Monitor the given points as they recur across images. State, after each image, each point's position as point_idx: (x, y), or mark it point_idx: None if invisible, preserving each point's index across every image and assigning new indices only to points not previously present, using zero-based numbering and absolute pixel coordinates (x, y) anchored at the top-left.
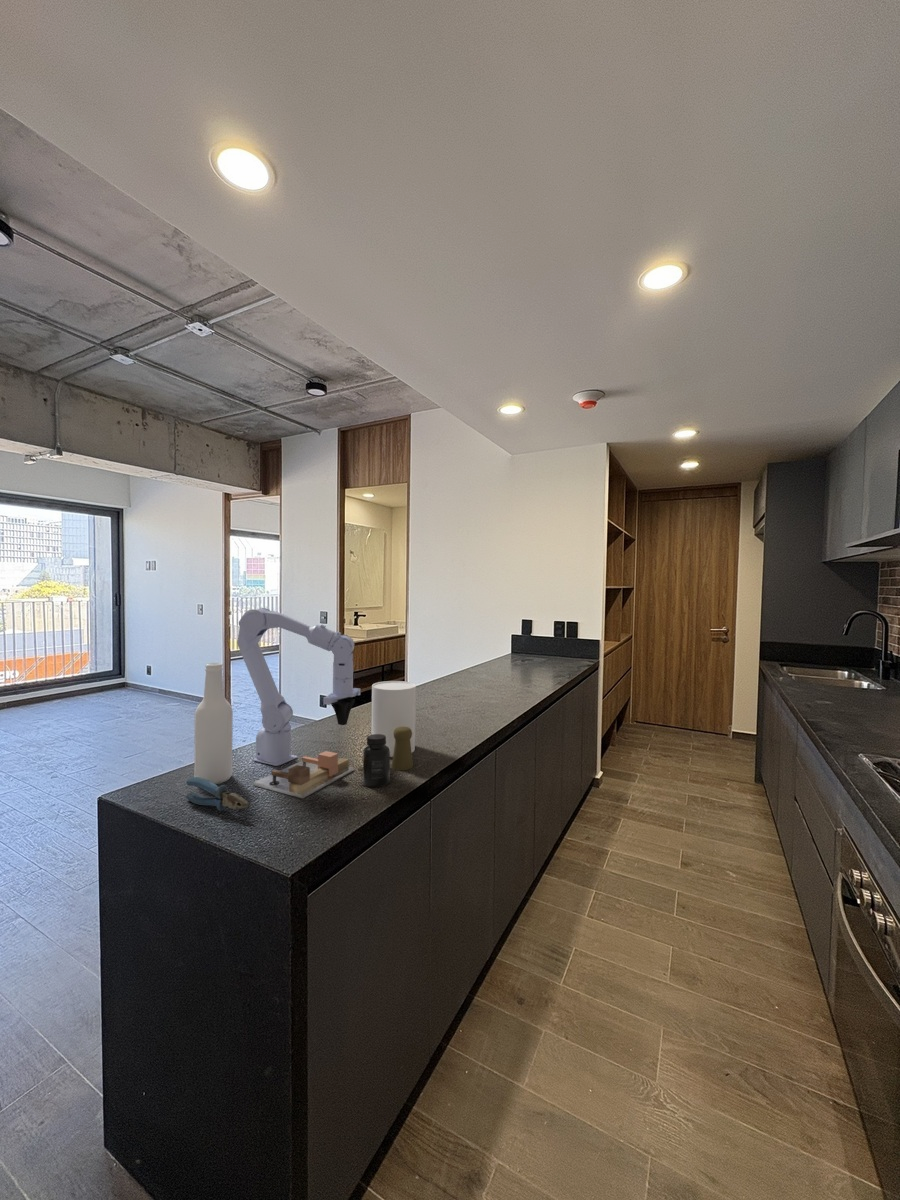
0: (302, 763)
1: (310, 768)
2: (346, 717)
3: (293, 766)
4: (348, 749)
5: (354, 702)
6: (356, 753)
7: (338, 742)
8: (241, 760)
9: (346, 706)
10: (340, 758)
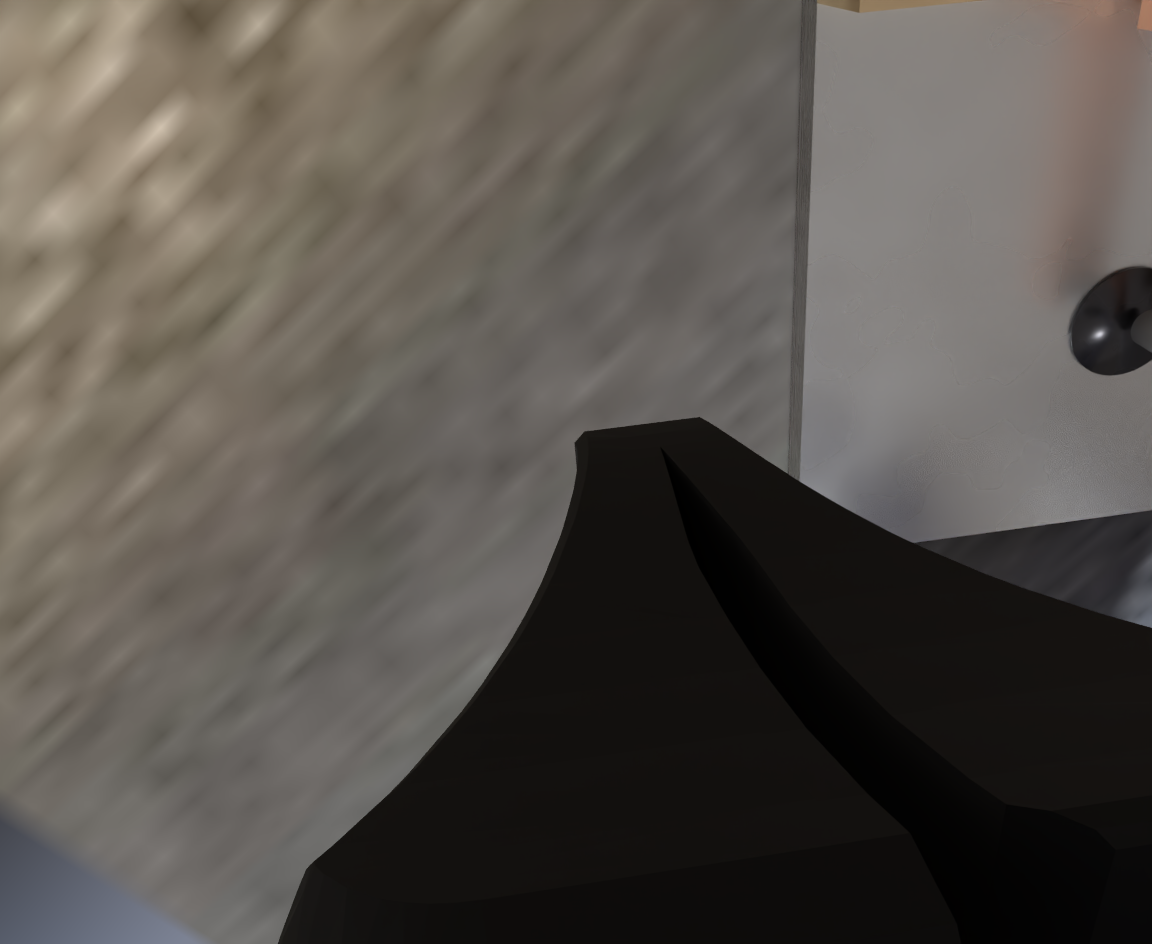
0: (985, 473)
1: (1098, 274)
2: (676, 501)
3: (1099, 480)
4: (185, 458)
5: (340, 852)
6: (216, 250)
7: (102, 727)
8: None
9: (1117, 687)
10: (897, 4)
